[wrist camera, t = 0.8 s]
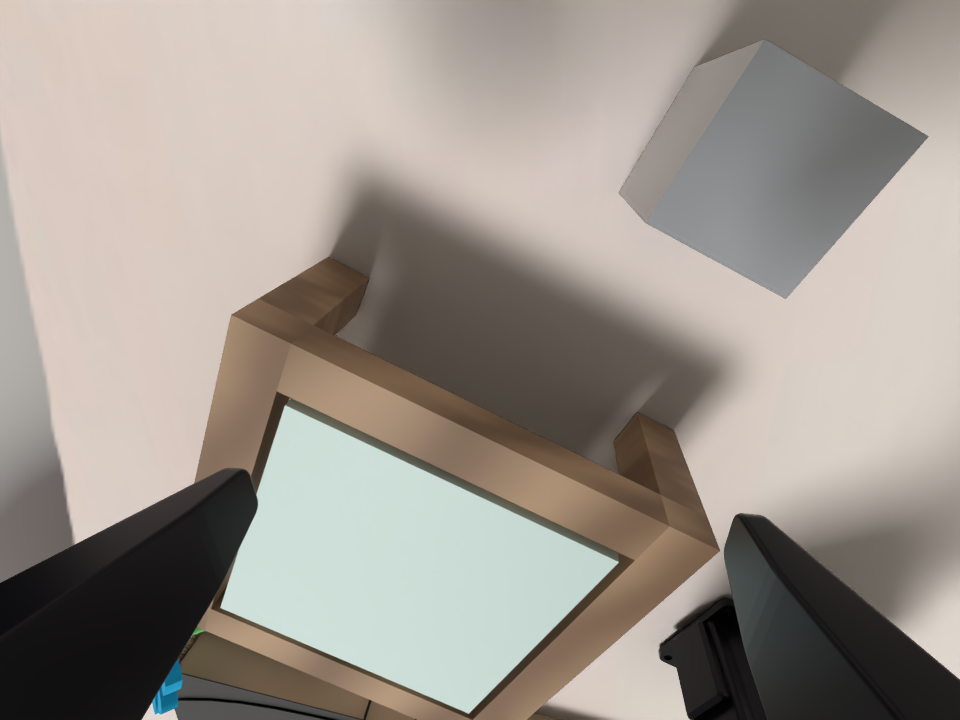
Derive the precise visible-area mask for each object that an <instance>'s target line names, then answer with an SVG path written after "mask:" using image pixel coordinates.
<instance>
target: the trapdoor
mask: <svg viewBox="0 0 960 720" xmlns="http://www.w3.org/2000/svg"><path fill="white" fill-rule="evenodd" d="M256 495H257V498H258V509H257V512H256V515H255V517H254V519H253V521H252V523H251V525H250V527H249V529H248V531H247V534H246V536H245V538H244V540H243V542H242V544H241V546H240V548H239V551H238V554H237V557H236V560H235V563H234V566H233V570H232V573H231V576H230V579H229V582H228V585H227V588H226V591H225V595H224V598H223V601H222V604H221V607H220V608H222V609H224V610H226V611H229V612H231V613H234V614H236V615H238V616H241V617H243V618H245V619H248V620H250V621H252V622H255V623H257V624H259V625H262V626H264V627H266V628H269V629H271V630H273V631H276V632H278V633H280V634H283V635H285V636H288V637H290V638H292V639H295V640H297V641H299V642H302V643H304V644H306V645H309V646H311V647H313V648H316V649H318V650H320V651H323V652H325V653H327V654H330V655H332V656H335V657H337V658H339V659H342V660H344V661H346V662H349V663H351V664H353V665H356V666H358V667H360V668H363V669H365V670H367V671H370V672H372V673H374V674H377V675H379V676H382V677H384V678H386V679H389V680H391V681H393V682H396V683H398V684H400V685H403V686H405V687H407V688H410V689H412V690H414V691H417V692H419V693H421V694H424V695H426V696H429V697H431V698H433V699H436V700H438V701H440V702H443V703H445V704H447V705H450V706H452V707H454V708H457V709H459V710H461V711H464V712H466V713H468V714H469V713H470V712H471V711H472V710H473V709H474V708H475V707H476V706H477V705H478V704H479V703H480V702H481V701H482V700H483V699H484V698H485V697H486V696H487V695H488V694H489V693H490V692H491V691H492V690H493V689H494V688H495V687H496V686H497V685H498V684H499V683H500V682H501V681H502V680H503V679H504V678H505V677H506V676H507V675H508V674H509V673H510V672H511V671H512V670H513V669H514V668H515V667H516V666H517V665H518V664H519V663H520V662H521V661H522V660H523V658H524V657H525V656H526V655H527V654H528V653H529V652H530V651H531V650H532V649H533V648H534V647H535V646H536V645H537V644H538V643H539V642H540V641H541V640H542V639H543V638H544V637H545V636H546V635H547V634H548V633H549V632H550V631H551V630H552V629H553V628H554V627H555V626H556V625H557V624H558V623H559V622H560V621H561V620H562V619H563V618H564V617H565V616H566V615H567V614H568V613H569V612H570V611H571V610H572V609H573V608H574V607H575V606H576V605H577V604H578V603H579V602H580V601H581V600H582V599H583V598H584V597H585V596H586V595H587V594H588V593H589V592H590V591H591V590H592V589H593V588H594V587H595V586H596V585H597V584H598V583H599V582H600V581H601V580H602V579H603V578H604V577H605V576H606V575H607V574H608V573H609V572H610V571H611V570H612V569H613V568H614V567H615V566H616V565H617V564H618V563H619V558H618V552H616V551H614V550H612V549H610V548H608V547H606V546H604V545H601V544H599V543H597V542H595V541H593V540H591V539H589V538H587V537H584V536H582V535H580V534H578V533H576V532H574V531H572V530H570V529H568V528H565V527H563V526H561V525H559V524H557V523H555V522H553V521H551V520H548V519H546V518H544V517H542V516H540V515H538V514H536V513H534V512H531V511H529V510H527V509H525V508H523V507H521V506H519V505H517V504H515V503H512V502H510V501H508V500H506V499H504V498H502V497H500V496H498V495H495V494H493V493H491V492H489V491H487V490H485V489H483V488H481V487H479V486H476V485H474V484H472V483H470V482H468V481H466V480H464V479H462V478H459V477H457V476H455V475H453V474H451V473H449V472H447V471H445V470H442V469H440V468H438V467H436V466H434V465H432V464H430V463H428V462H426V461H423V460H421V459H419V458H417V457H415V456H413V455H411V454H409V453H406V452H404V451H402V450H400V449H398V448H396V447H394V446H392V445H390V444H387V443H385V442H383V441H381V440H379V439H377V438H375V437H373V436H370V435H368V434H366V433H364V432H362V431H360V430H358V429H356V428H353V427H351V426H349V425H347V424H345V423H343V422H341V421H339V420H337V419H334V418H332V417H330V416H328V415H326V414H324V413H322V412H320V411H317V410H315V409H313V408H311V407H309V406H307V405H305V404H303V403H300V402H298V401H296V400H294V399H292V398H291V400H290V401H289V402H288V403H287V404H286V405H285V407H284V410H283V413H282V416H281V419H280V423H279V426H278V429H277V432H276V435H275V438H274V441H273V444H272V448H271V451H270V454H269V457H268V460H267V463H266V466H265V469H264V473H263V476H262V479H261V482H260V485H259V488H258V491H257V494H256Z"/></svg>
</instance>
